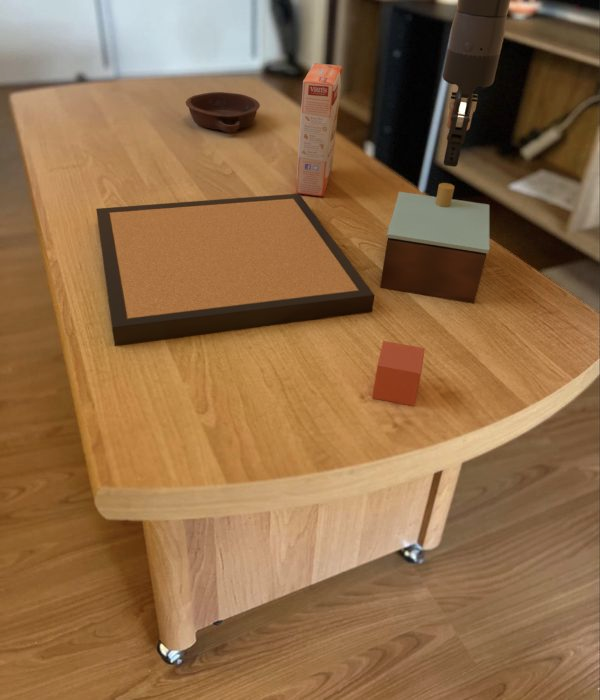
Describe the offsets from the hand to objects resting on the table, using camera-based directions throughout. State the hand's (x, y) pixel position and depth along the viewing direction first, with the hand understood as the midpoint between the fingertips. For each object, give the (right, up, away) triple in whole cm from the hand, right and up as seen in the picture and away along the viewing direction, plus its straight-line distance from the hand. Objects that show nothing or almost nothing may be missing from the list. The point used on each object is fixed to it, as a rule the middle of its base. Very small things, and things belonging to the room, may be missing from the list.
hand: (450, 164), depth 101 cm
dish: (-43, +25, +51) cm, 71 cm away
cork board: (-36, -17, -3) cm, 40 cm away
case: (-3, -17, -1) cm, 18 cm away
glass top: (-3, -10, -6) cm, 12 cm away
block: (-13, -35, -25) cm, 45 cm away
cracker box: (-21, +3, +25) cm, 33 cm away
